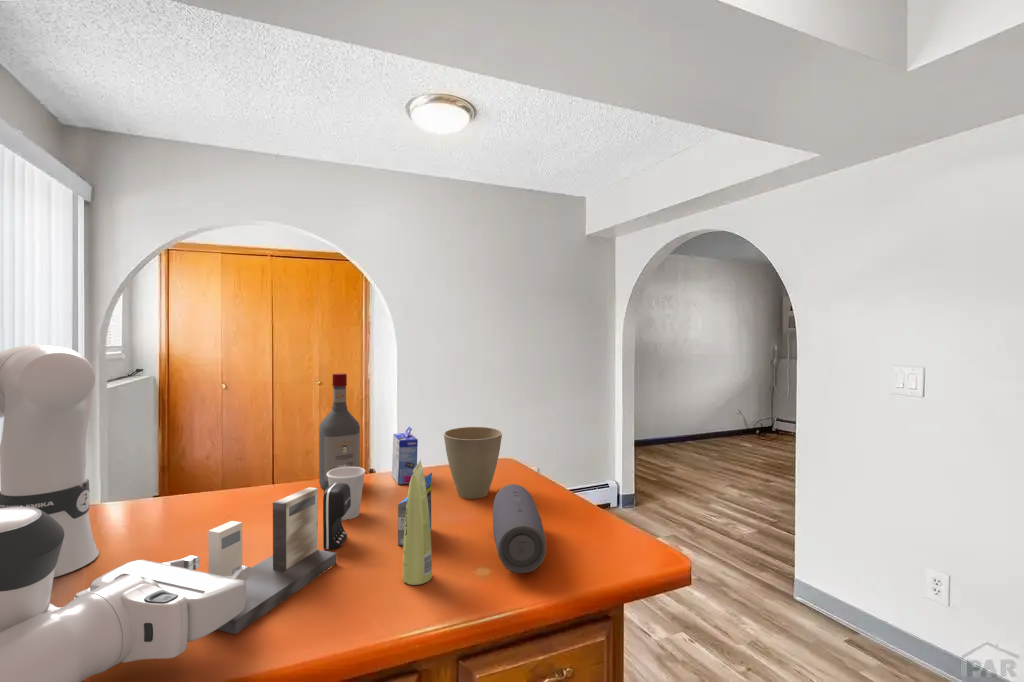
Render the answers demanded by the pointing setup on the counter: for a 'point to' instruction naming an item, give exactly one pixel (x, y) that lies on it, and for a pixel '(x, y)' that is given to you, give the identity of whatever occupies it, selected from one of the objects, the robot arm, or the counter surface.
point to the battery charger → (335, 514)
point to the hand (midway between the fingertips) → (220, 565)
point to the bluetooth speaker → (518, 529)
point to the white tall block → (225, 548)
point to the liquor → (338, 434)
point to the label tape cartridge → (403, 510)
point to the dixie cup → (355, 482)
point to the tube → (417, 532)
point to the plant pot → (472, 458)
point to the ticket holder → (285, 558)
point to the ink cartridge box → (404, 456)
